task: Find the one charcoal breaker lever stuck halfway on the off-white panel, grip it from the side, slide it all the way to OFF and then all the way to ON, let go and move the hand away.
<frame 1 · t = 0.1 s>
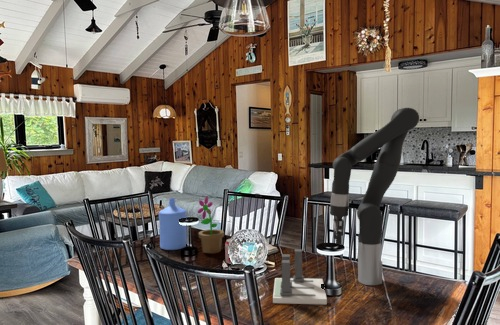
hand: (337, 241, 160), 17 cm above the table, tool pointing down, fingers open, 8 cm apart
tripped lever: (298, 265, 157), point 9 cm above the table, slide at 5.0 cm
water jug: (173, 246, 219), on the table
middle lever: (286, 270, 150), point 9 cm above the table, slide at 10.0 cm
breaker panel: (299, 292, 150), on the table
soda can: (232, 264, 187), on the table
near lever: (285, 277, 143), point 9 cm above the table, slide at 10.0 cm
flowerpot: (211, 250, 209), on the table
washcloth: (260, 251, 207), on the table
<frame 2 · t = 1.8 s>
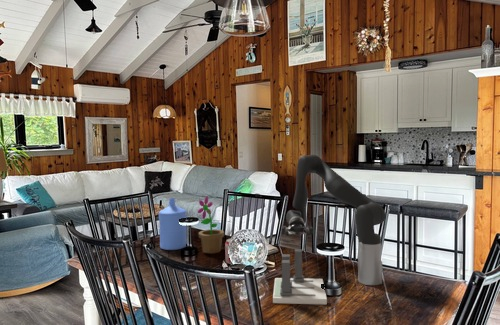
hand: (297, 234, 168), 19 cm above the table, tool horizontal, fingers open, 8 cm apart
nothing on the table moved.
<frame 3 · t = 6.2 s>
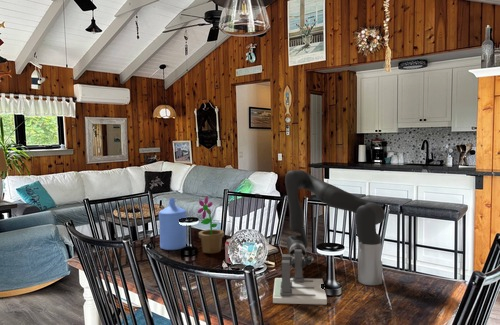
hand: (298, 265, 154), 10 cm above the table, tool horizontal, fingers closed on tripped lever, 3 cm apart
tripped lever: (298, 265, 157), point 9 cm above the table, slide at 5.0 cm, touching gripper
everything else where it was.
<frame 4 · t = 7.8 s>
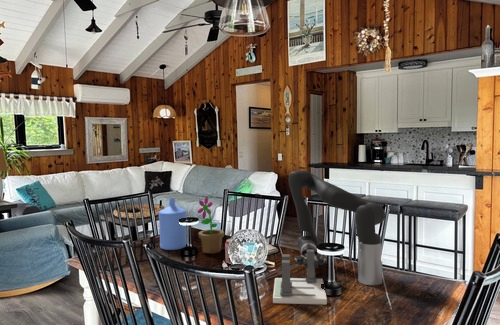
hand: (311, 266, 153), 10 cm above the table, tool horizontal, fingers closed on tripped lever, 3 cm apart
tripped lever: (310, 265, 156), point 9 cm above the table, slide at -0.1 cm, touching gripper
everything else where it was.
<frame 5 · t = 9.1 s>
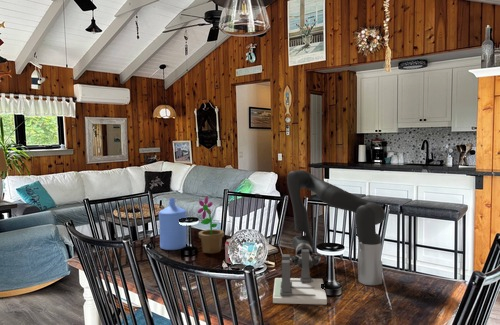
hand: (305, 265, 154), 10 cm above the table, tool horizontal, fingers closed on tripped lever, 3 cm apart
tripped lever: (305, 265, 156), point 9 cm above the table, slide at 2.1 cm, touching gripper
everything else where it was.
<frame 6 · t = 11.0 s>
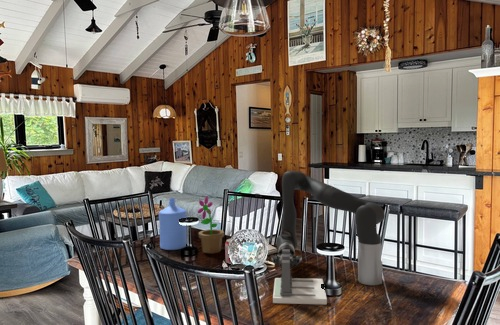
hand: (286, 265, 154), 10 cm above the table, tool horizontal, fingers closed on tripped lever, 3 cm apart
tripped lever: (286, 264, 157), point 9 cm above the table, slide at 10.0 cm, touching gripper
everything else where it was.
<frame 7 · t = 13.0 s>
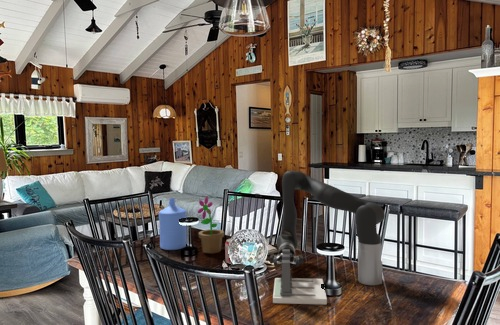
hand: (286, 264, 156), 9 cm above the table, tool horizontal, fingers open, 8 cm apart
tripped lever: (286, 264, 157), point 9 cm above the table, slide at 10.0 cm
everything else where it was.
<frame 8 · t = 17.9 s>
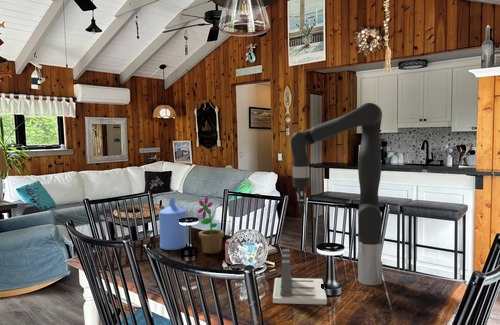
hand: (301, 211, 171), 28 cm above the table, tool pointing down, fingers open, 8 cm apart
nothing on the table moved.
at the end: tripped lever slide at 10.0 cm; middle lever slide at 10.0 cm; near lever slide at 10.0 cm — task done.
